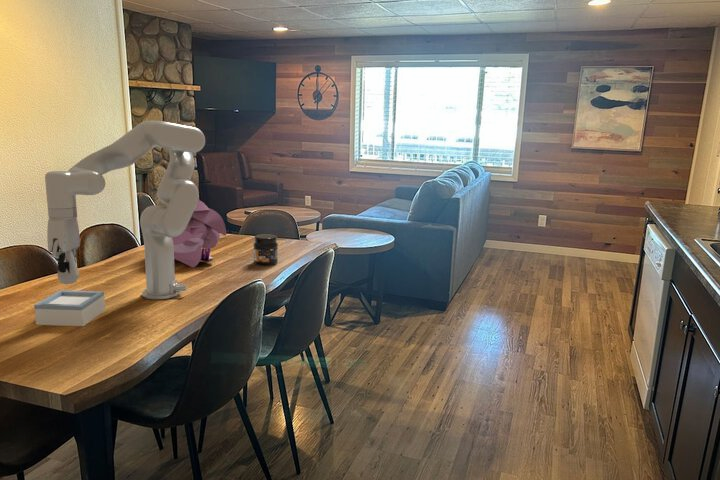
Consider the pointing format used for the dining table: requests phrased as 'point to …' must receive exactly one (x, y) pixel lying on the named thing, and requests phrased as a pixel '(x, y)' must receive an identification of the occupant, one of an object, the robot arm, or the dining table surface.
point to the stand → (69, 308)
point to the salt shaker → (73, 275)
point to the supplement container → (265, 249)
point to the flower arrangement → (199, 236)
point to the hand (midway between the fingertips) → (67, 272)
